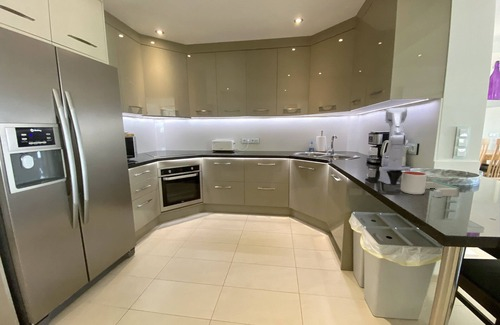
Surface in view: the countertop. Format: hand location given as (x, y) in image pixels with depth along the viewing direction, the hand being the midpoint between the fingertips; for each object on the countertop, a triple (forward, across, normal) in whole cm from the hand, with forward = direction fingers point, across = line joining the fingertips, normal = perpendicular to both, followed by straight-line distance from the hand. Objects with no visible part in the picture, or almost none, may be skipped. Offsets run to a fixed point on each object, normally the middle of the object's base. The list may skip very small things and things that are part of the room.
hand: (393, 184), depth 111 cm
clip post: (+4, +16, -8) cm, 18 cm away
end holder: (+4, +22, 0) cm, 22 cm away
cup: (+4, +10, 0) cm, 11 cm away
